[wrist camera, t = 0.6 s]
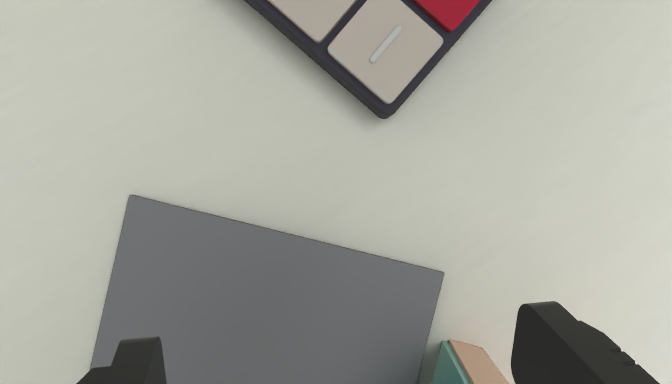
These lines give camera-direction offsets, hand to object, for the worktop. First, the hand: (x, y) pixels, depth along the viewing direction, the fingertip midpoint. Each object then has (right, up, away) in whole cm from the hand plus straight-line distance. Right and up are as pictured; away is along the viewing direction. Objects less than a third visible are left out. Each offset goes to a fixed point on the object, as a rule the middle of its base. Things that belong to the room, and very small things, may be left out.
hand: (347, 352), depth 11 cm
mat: (-5, -8, +21) cm, 23 cm away
